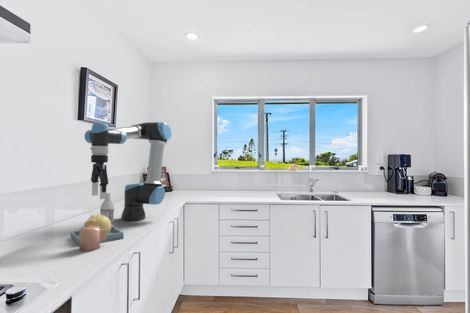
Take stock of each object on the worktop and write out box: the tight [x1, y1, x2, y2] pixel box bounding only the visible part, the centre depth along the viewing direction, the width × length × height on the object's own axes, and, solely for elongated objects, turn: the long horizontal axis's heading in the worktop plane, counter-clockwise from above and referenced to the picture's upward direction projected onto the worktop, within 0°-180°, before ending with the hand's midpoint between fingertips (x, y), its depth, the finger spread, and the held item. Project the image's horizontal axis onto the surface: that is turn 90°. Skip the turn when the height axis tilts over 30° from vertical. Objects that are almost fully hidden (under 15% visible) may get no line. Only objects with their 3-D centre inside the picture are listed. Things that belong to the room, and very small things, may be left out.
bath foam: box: [99, 192, 115, 226], centre depth 154 cm, size 7×7×20 cm
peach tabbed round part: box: [78, 226, 107, 252], centre depth 122 cm, size 8×11×9 cm
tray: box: [70, 225, 125, 247], centre depth 136 cm, size 20×16×3 cm
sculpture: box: [84, 213, 111, 235], centre depth 137 cm, size 12×12×11 cm
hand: (98, 197), depth 137 cm, fingers open, 13 cm apart
